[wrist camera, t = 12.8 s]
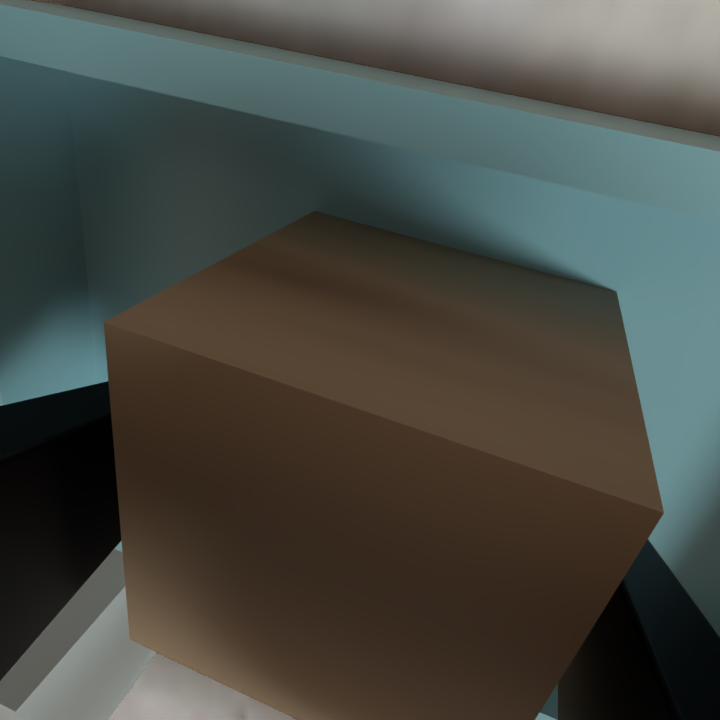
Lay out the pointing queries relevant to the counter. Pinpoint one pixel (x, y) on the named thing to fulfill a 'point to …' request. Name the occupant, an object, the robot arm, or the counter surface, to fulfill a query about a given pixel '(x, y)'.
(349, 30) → the counter surface
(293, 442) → the walnut block
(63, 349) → the tray
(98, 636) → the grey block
